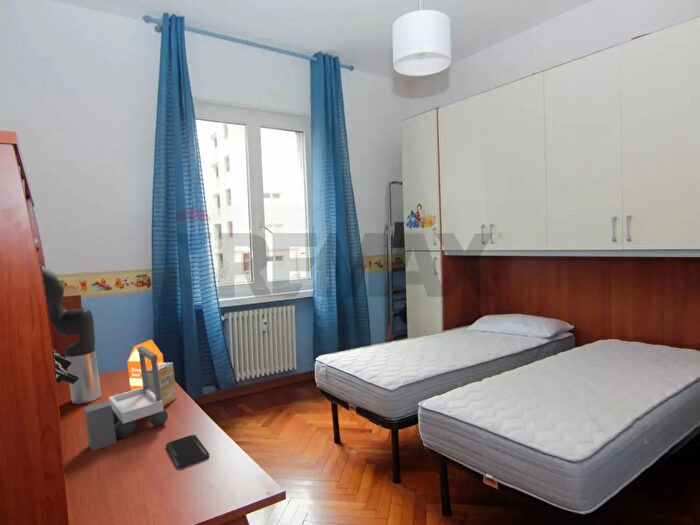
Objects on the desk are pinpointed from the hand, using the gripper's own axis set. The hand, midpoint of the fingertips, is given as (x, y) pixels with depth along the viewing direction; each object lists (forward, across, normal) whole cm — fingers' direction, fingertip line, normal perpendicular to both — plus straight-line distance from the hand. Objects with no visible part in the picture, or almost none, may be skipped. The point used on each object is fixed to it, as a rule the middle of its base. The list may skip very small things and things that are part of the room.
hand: (72, 372), depth 122 cm
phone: (+20, -35, -5) cm, 41 cm away
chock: (+15, -12, +10) cm, 22 cm away
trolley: (+24, -7, +4) cm, 25 cm away
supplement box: (+35, +3, -2) cm, 35 cm away
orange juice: (+36, +12, +2) cm, 38 cm away
